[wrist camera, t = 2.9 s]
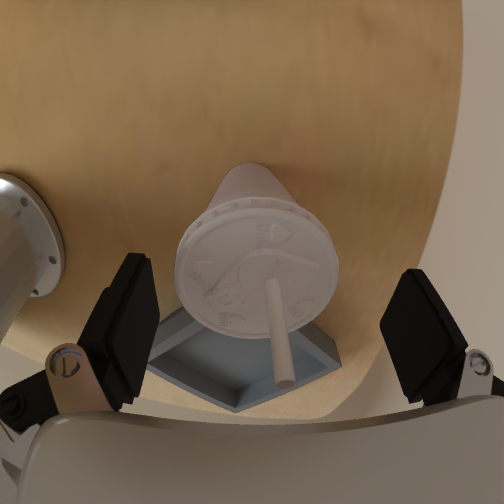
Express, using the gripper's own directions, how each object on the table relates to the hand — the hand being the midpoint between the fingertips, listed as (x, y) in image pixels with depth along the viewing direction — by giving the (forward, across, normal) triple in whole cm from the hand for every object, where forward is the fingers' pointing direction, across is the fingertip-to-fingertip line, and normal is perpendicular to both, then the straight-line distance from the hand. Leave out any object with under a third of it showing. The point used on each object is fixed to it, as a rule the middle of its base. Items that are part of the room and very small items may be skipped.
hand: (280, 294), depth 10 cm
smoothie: (+10, +1, 0) cm, 10 cm away
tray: (+10, +1, +16) cm, 19 cm away
